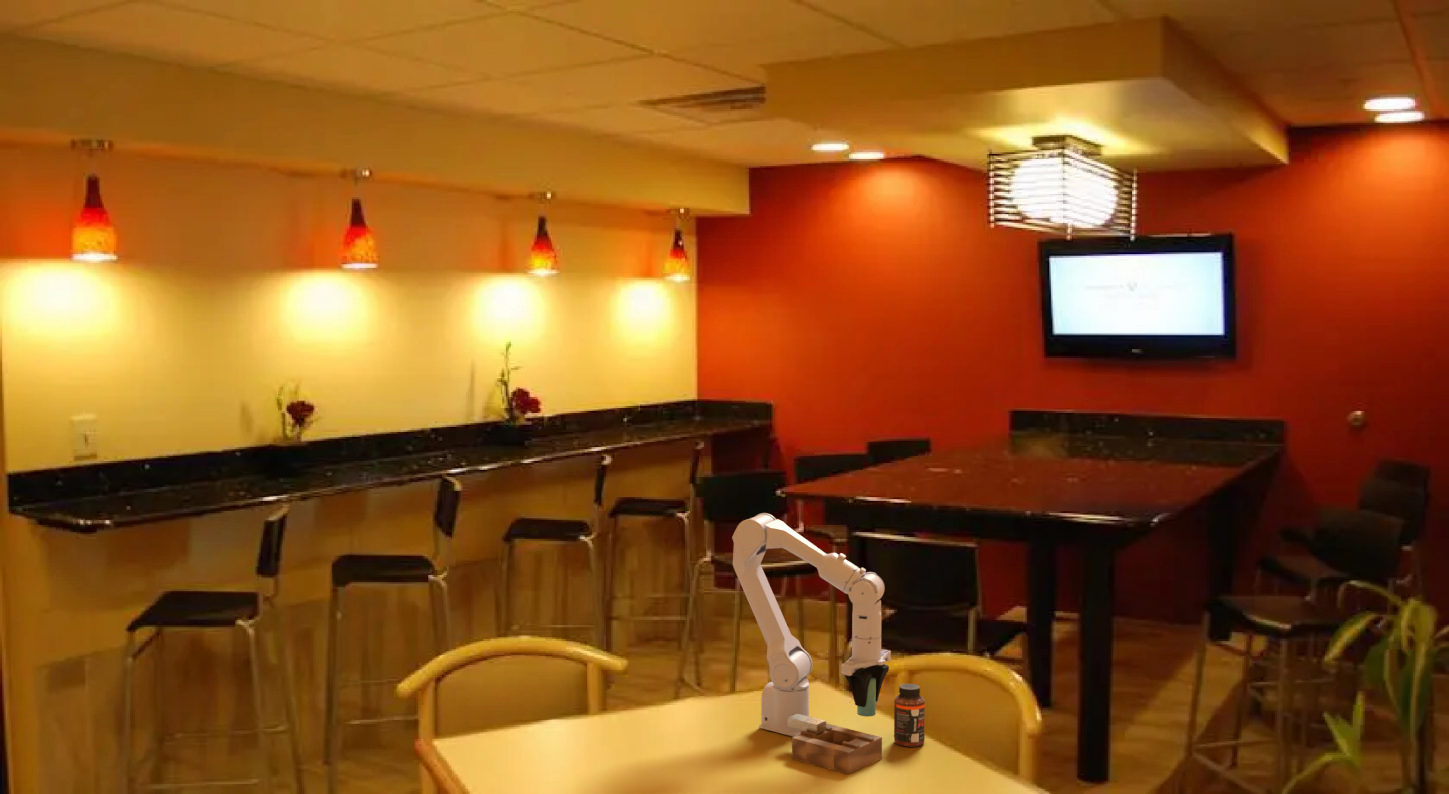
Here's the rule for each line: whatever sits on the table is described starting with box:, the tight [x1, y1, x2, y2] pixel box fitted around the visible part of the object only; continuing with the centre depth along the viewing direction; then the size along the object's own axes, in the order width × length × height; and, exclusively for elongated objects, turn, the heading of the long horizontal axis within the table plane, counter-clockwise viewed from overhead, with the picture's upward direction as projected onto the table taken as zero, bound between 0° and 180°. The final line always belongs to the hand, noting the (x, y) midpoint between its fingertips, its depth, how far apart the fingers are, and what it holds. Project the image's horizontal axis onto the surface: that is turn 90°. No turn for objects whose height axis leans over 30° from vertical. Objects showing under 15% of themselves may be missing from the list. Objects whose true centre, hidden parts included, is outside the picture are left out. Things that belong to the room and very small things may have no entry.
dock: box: [791, 722, 883, 775], centre depth 237 cm, size 13×11×4 cm
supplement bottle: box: [893, 683, 926, 748], centre depth 245 cm, size 6×6×11 cm
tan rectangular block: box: [788, 714, 827, 734], centre depth 241 cm, size 7×3×2 cm, turn 49°
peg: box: [856, 677, 877, 718], centre depth 248 cm, size 4×4×7 cm
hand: (866, 703), depth 248 cm, fingers closed on peg, 4 cm apart
